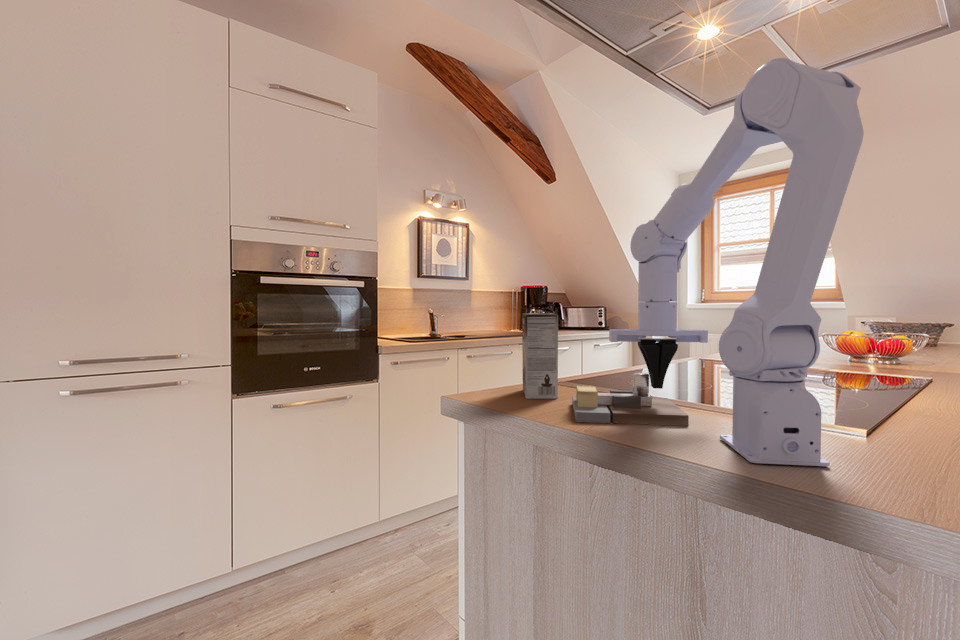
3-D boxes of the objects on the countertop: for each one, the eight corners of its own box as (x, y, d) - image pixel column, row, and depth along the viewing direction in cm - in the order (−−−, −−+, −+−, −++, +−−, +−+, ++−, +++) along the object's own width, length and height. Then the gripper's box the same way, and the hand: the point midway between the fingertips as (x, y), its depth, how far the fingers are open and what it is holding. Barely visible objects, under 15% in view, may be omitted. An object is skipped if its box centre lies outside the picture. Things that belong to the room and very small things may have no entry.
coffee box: (521, 389, 92) (521, 312, 92) (552, 389, 92) (552, 312, 91) (525, 399, 83) (524, 313, 82) (559, 399, 83) (559, 313, 82)
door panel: (688, 425, 64) (688, 403, 64) (613, 423, 66) (613, 401, 66) (667, 406, 76) (667, 387, 76) (603, 404, 78) (603, 386, 78)
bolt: (652, 406, 70) (652, 375, 69) (593, 404, 71) (593, 374, 71) (648, 403, 72) (649, 373, 72) (592, 401, 73) (592, 372, 73)
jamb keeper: (610, 423, 66) (610, 396, 66) (576, 421, 67) (576, 395, 67) (601, 404, 78) (601, 382, 78) (572, 404, 79) (572, 381, 79)
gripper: (698, 301, 73) (697, 383, 73) (607, 302, 75) (606, 381, 76) (713, 301, 66) (712, 392, 66) (612, 302, 68) (612, 389, 69)
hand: (656, 387), depth 71 cm, fingers closed
